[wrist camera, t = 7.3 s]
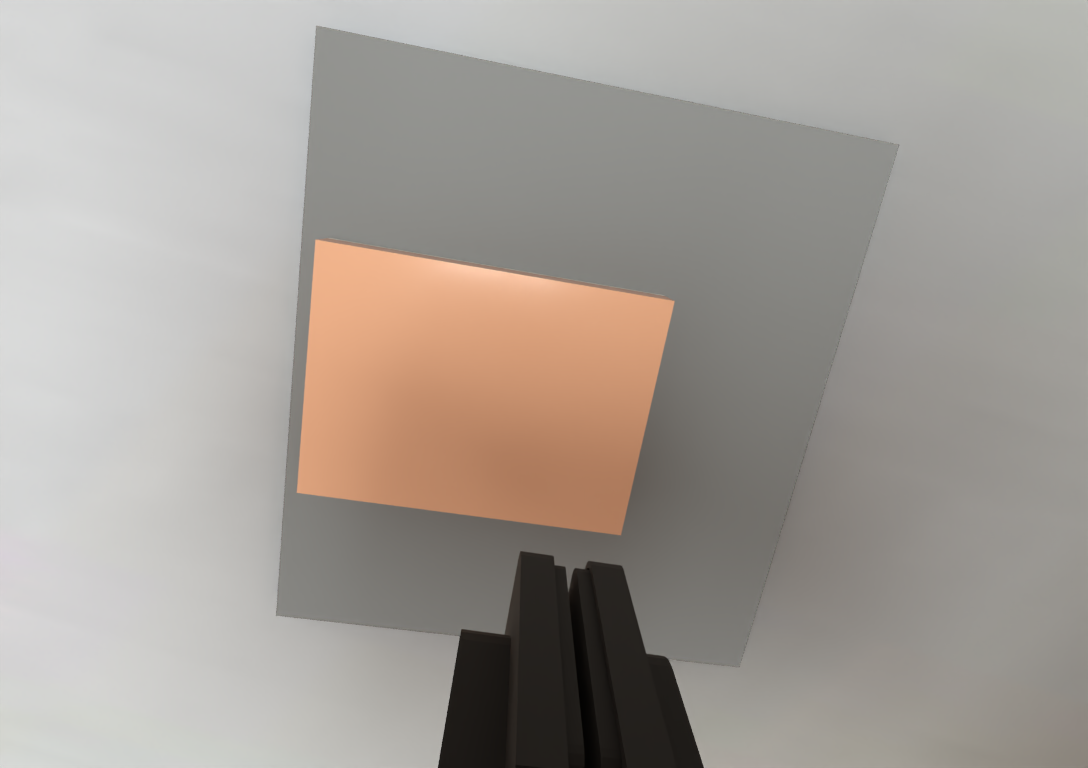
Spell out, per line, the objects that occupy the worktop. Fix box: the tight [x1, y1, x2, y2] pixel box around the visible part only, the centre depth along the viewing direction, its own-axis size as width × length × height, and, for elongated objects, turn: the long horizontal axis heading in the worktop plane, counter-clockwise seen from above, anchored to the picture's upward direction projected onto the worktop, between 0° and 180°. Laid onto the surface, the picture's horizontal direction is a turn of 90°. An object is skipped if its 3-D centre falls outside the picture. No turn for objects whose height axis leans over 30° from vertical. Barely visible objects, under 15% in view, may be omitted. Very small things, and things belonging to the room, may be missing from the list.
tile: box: [297, 238, 675, 535], centre depth 22 cm, size 2×9×12 cm
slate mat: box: [276, 26, 899, 667], centre depth 23 cm, size 20×22×1 cm
